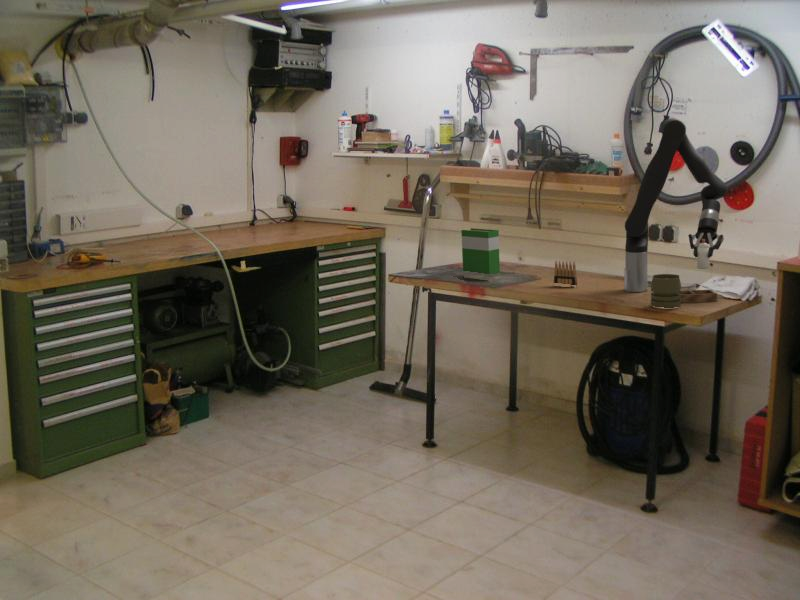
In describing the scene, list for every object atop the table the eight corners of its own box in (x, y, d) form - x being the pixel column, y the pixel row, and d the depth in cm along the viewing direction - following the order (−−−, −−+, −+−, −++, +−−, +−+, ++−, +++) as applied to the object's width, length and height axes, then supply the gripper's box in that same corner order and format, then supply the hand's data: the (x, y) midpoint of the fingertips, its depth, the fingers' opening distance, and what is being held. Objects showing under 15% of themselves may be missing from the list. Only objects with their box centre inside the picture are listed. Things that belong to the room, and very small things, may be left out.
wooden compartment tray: (673, 302, 347) (673, 295, 346) (668, 298, 356) (668, 291, 355) (717, 301, 345) (717, 293, 345) (710, 296, 354) (711, 289, 354)
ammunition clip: (553, 286, 394) (553, 260, 391) (555, 285, 395) (555, 260, 393) (575, 288, 387) (575, 261, 385) (577, 287, 389) (576, 261, 386)
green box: (463, 278, 428) (461, 230, 423) (473, 275, 432) (471, 228, 428) (489, 281, 415) (488, 232, 410) (500, 279, 419) (498, 230, 415)
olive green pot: (681, 274, 342) (680, 279, 332) (680, 303, 345) (680, 309, 334) (651, 273, 346) (650, 279, 336) (651, 303, 348) (650, 309, 338)
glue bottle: (698, 269, 346) (699, 240, 343) (695, 267, 350) (696, 238, 348) (710, 268, 345) (711, 239, 343) (707, 266, 350) (707, 238, 348)
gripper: (689, 216, 354) (682, 250, 346) (726, 217, 347) (720, 251, 339) (691, 228, 359) (685, 261, 351) (727, 228, 352) (722, 262, 344)
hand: (702, 256), depth 345 cm, fingers closed on glue bottle, 4 cm apart
